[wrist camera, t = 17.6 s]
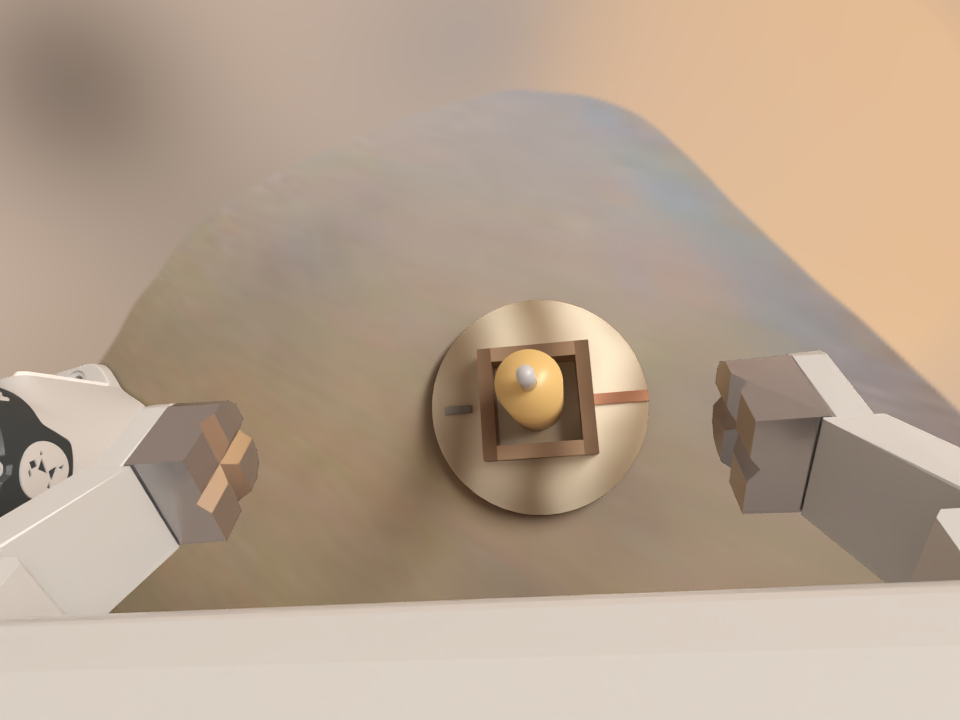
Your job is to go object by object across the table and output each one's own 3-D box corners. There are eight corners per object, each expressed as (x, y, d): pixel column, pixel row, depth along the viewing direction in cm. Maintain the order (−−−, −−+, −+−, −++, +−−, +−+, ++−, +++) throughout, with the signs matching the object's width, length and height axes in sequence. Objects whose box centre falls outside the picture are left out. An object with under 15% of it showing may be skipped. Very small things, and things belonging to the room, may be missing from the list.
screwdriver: (511, 432, 45) (490, 413, 32) (507, 379, 46) (485, 341, 33) (566, 428, 45) (566, 408, 32) (561, 375, 45) (559, 334, 33)
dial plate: (440, 520, 46) (429, 523, 42) (430, 314, 49) (420, 302, 45) (658, 507, 44) (666, 510, 40) (633, 294, 47) (639, 279, 44)
